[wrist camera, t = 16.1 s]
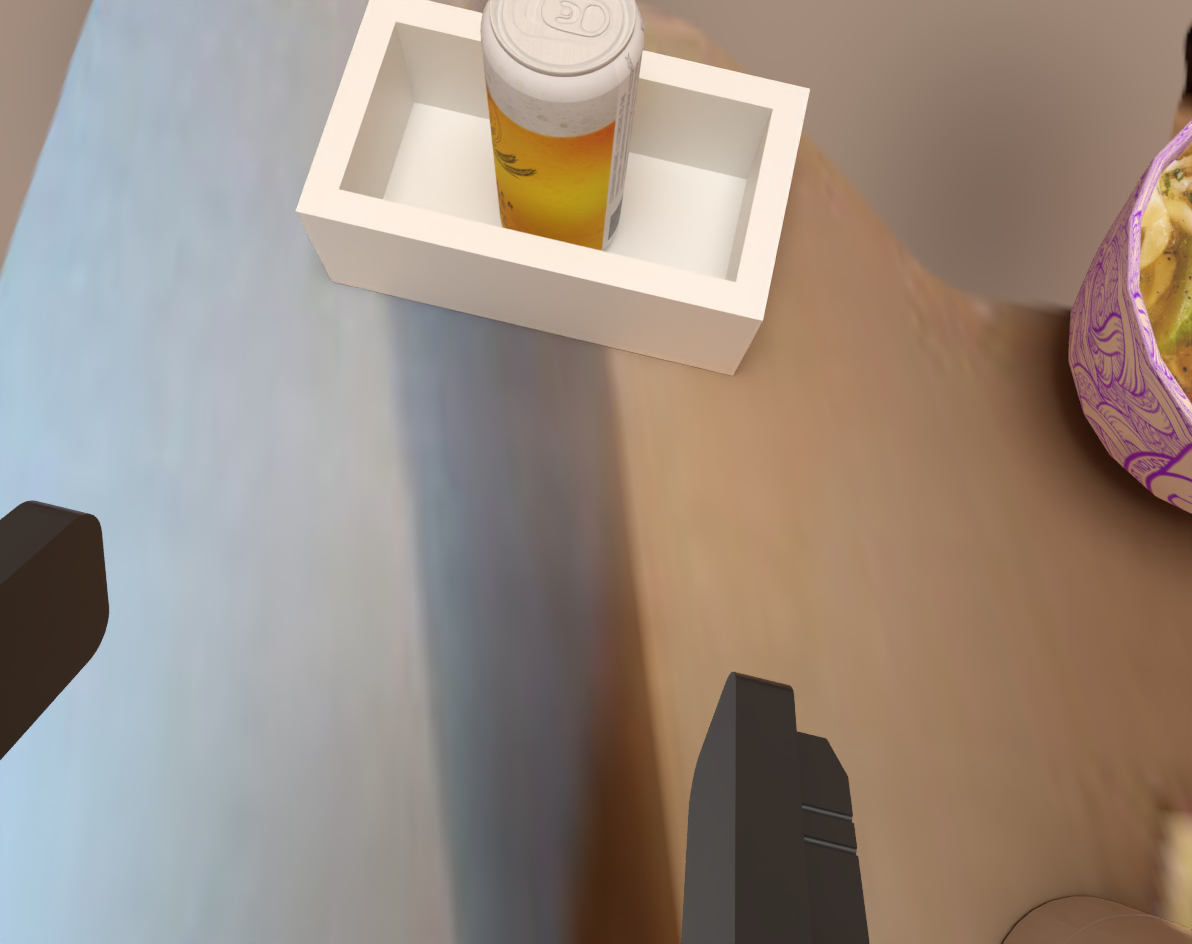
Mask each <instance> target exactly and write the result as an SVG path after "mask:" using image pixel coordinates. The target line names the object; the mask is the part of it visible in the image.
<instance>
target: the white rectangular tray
mask: <svg viewBox="0 0 1192 944" xmlns="http://www.w3.org/2000/svg"><path fill="white" fill-rule="evenodd" d="M482 15H483V13H479V12H475V11H471V10H466V9H462V8H458V7H453V6H449V5H445V4H440V3H436V2H432V1H427V0H369V3H368V6H367V9H366V12H365V14H364V17H363V20H362V23H361V26H360V29H359V32H358V34H357V37H356V40H355V43H354V46H353V49H352V52H351V54H350V57H349V60H348V63H347V66H346V69H345V72H344V74H343V77H342V80H341V83H340V86H339V89H338V92H337V94H336V97H335V100H334V103H333V106H332V109H331V112H330V114H329V117H328V120H327V123H326V126H325V129H324V131H323V134H322V137H321V140H320V143H319V146H318V149H317V151H316V154H315V157H314V160H313V163H312V166H311V169H310V171H309V174H308V177H307V180H306V183H305V186H304V189H303V191H302V194H301V197H300V200H299V203H298V206H297V209H296V213H297V215H298V217H299V219H300V221H301V223H302V225H303V227H304V228H305V230H306V232H307V234H308V236H309V238H310V240H311V242H312V244H313V246H314V248H315V250H316V252H317V254H318V255H319V257H320V259H321V261H322V263H323V265H324V267H325V269H326V271H327V273H328V275H329V277H330V279H331V281H332V282H336V283H340V284H345V285H349V286H353V287H357V288H362V289H366V290H370V291H374V292H379V293H383V294H387V295H391V296H396V297H400V298H404V299H408V300H413V301H417V302H421V303H425V304H430V305H434V306H438V307H442V308H447V309H451V310H455V311H459V312H464V313H468V314H472V315H476V316H481V317H485V318H489V319H493V320H498V321H502V322H506V323H510V324H515V325H519V326H523V327H527V328H532V329H536V330H540V331H544V332H549V333H553V334H557V335H561V336H566V337H570V338H574V339H578V340H583V341H587V342H591V343H595V344H600V345H604V346H608V347H612V348H617V349H621V350H625V351H629V352H634V353H638V354H642V355H646V356H650V357H655V358H659V359H663V360H667V361H672V362H676V363H680V364H684V365H689V366H693V367H697V368H701V369H706V370H710V371H714V372H718V373H723V374H727V375H731V376H733V375H734V373H735V371H736V369H737V368H738V366H739V364H740V362H741V360H742V358H743V357H744V355H745V353H746V351H747V349H748V347H749V346H750V344H751V342H752V340H753V338H754V336H755V334H756V333H757V331H758V329H759V327H760V325H761V323H762V322H763V318H764V313H765V308H766V303H767V298H768V293H769V288H770V283H771V278H772V274H773V269H774V264H775V259H776V254H777V249H778V244H779V239H780V234H781V229H782V224H783V219H784V214H785V209H786V205H787V200H788V195H789V190H790V185H791V180H792V175H793V170H794V165H795V160H796V155H797V150H798V145H799V140H800V136H801V131H802V126H803V121H804V116H805V111H806V106H807V101H808V96H809V91H810V89H808V88H804V87H800V86H795V85H791V84H786V83H782V82H778V81H774V80H769V79H765V78H761V77H756V76H752V75H748V74H743V73H739V72H735V71H730V70H726V69H722V68H717V67H713V66H709V65H704V64H700V63H696V62H691V61H687V60H683V59H678V58H674V57H670V56H665V55H661V54H657V53H652V52H648V51H644V50H643V52H642V60H641V67H640V74H639V82H638V89H637V96H636V104H635V111H634V118H633V126H632V133H631V141H630V148H629V155H628V163H627V170H626V177H625V185H624V192H623V199H622V207H621V214H620V221H619V225H618V228H617V231H616V233H615V236H614V237H613V239H612V241H611V242H610V243H609V244H608V246H607V247H606V248H605V249H604V250H603V251H600V250H596V249H592V248H587V247H583V246H579V245H575V244H570V243H566V242H562V241H557V240H553V239H549V238H545V237H540V236H536V235H532V234H528V233H523V232H519V231H515V230H510V229H506V228H503V227H502V224H501V219H500V211H499V202H498V192H497V183H496V174H495V165H494V155H493V146H492V137H491V128H490V118H489V109H488V100H487V91H486V81H485V72H484V63H483V54H482V44H481V32H480V27H481V19H482Z"/></svg>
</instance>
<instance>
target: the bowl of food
mask: <svg viewBox="0 0 1192 944" xmlns="http://www.w3.org/2000/svg"><path fill="white" fill-rule="evenodd" d="M1068 361H1069V364H1070V368H1071V371H1072V375H1073V378H1074V382H1075V385H1076V389H1077V393H1078V396H1079V400H1080V403H1081V407H1082V410H1083V413H1084V415H1085V417H1086V418H1087V420H1088V421H1089V423H1090V425H1091V426H1092V428H1093V429H1094V431H1095V432H1096V434H1097V436H1098V437H1099V439H1100V440H1101V442H1102V443H1103V445H1104V447H1105V448H1106V450H1107V451H1108V453H1109V454H1110V456H1111V457H1112V458H1113V459H1115V460H1116V461H1117V462H1118V463H1119V464H1120V465H1121V466H1122V467H1123V468H1125V469H1126V470H1127V471H1128V472H1129V473H1130V474H1131V475H1132V476H1134V477H1135V478H1136V479H1137V480H1138V481H1139V482H1140V483H1141V484H1142V485H1144V486H1145V487H1146V488H1147V489H1148V490H1149V491H1150V492H1151V493H1152V494H1154V495H1155V496H1156V497H1158V498H1160V499H1162V500H1164V501H1166V502H1168V503H1170V504H1172V505H1174V506H1177V507H1179V508H1181V509H1183V510H1185V511H1187V512H1189V513H1191V514H1192V120H1191V121H1190V122H1189V123H1188V124H1187V125H1186V126H1185V127H1184V128H1183V129H1182V130H1181V131H1180V132H1179V133H1178V134H1177V135H1176V136H1175V137H1174V138H1173V139H1172V140H1171V141H1170V142H1169V143H1168V144H1167V145H1166V146H1165V147H1164V148H1163V149H1162V150H1161V151H1160V152H1159V153H1158V154H1157V155H1156V156H1155V157H1154V158H1153V160H1152V161H1151V163H1150V165H1149V166H1148V168H1147V169H1146V171H1145V172H1144V174H1143V175H1142V177H1141V179H1140V180H1139V182H1138V184H1137V185H1136V187H1135V189H1134V190H1133V192H1132V194H1131V195H1130V197H1129V199H1128V200H1127V202H1126V204H1125V205H1124V207H1123V209H1122V210H1121V212H1120V214H1119V215H1118V217H1117V218H1116V220H1115V221H1114V223H1113V225H1112V226H1111V228H1110V229H1109V231H1108V233H1107V235H1106V237H1105V238H1104V240H1103V242H1102V243H1101V245H1100V247H1099V249H1098V251H1097V253H1096V255H1095V257H1094V259H1093V261H1092V264H1091V266H1090V268H1089V270H1088V272H1087V275H1086V277H1085V279H1084V282H1083V284H1082V286H1081V289H1080V291H1079V294H1078V296H1077V298H1076V301H1075V303H1074V305H1073V308H1072V310H1071V315H1070V337H1069V360H1068Z"/></svg>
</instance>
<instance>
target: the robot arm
mask: <svg viewBox="0 0 1192 944" xmlns="http://www.w3.org/2000/svg"><path fill="white" fill-rule="evenodd" d="M108 618H109V603H108V592H107V582H106V571H105V560H104V550H103V539H102V530H101V525H100V522H99V521H98V519H97V518H96V517H95V516H94V515H91V514H88V513H84V512H80V511H75V510H71V509H67V508H63V507H59V506H55V505H51V504H46V503H42V502H38V501H26V502H24V503H22V504H20V505H19V506H17V507H16V508H15V509H13V510H12V511H11V512H10V513H8V514H7V515H6V516H5V517H3V518H2V519H1V520H0V760H1V759H2V758H3V757H4V756H5V754H6V753H7V752H8V751H9V750H10V749H11V748H12V747H13V745H14V744H15V743H16V742H17V741H18V740H19V739H20V738H21V737H22V735H23V734H24V733H25V732H26V731H27V730H28V729H29V728H30V726H31V725H32V724H33V723H34V722H35V721H36V720H37V719H38V717H39V716H40V715H41V714H42V713H43V712H44V711H45V710H46V709H47V707H48V706H49V705H50V704H51V703H52V702H53V701H54V700H55V698H56V697H57V696H58V695H59V694H60V693H61V692H62V691H63V689H64V688H65V687H66V686H67V685H68V684H69V683H70V682H71V680H72V679H73V678H74V677H75V676H76V675H77V674H78V673H79V672H80V670H81V669H82V668H83V667H84V666H85V665H86V664H87V663H88V661H89V660H90V659H91V658H92V657H93V655H94V654H95V652H96V651H97V649H98V647H99V645H100V643H101V641H102V639H103V636H104V634H105V631H106V627H107V623H108ZM852 816H853V813H852V805H851V797H850V789H849V782H848V776H847V774H846V772H845V771H844V769H843V767H842V765H841V763H840V762H839V760H838V758H837V756H836V755H835V753H834V751H833V749H832V748H831V746H830V744H829V742H828V740H827V739H826V738H822V737H817V736H813V735H809V734H805V733H801V732H797V730H796V716H795V703H794V692H793V689H792V687H791V686H790V685H786V684H782V683H778V682H774V681H769V680H765V679H761V678H757V677H753V676H749V675H745V674H740V673H736V672H731V673H730V675H729V677H728V679H727V681H726V683H725V686H724V689H723V691H722V694H721V697H720V700H719V702H718V705H717V708H716V711H715V713H714V716H713V719H712V722H711V724H710V727H709V730H708V733H707V735H706V738H705V741H704V744H703V746H702V749H701V752H700V755H699V758H698V761H697V765H696V768H695V773H694V777H693V782H692V788H691V794H690V802H689V816H688V833H687V851H686V868H685V886H684V904H683V921H682V939H681V944H869V936H868V929H867V921H866V913H865V905H864V898H863V890H862V882H861V874H860V867H859V859H858V856H856V849H857V843H856V836H855V828H854V823H852ZM1003 944H1192V929H1190V928H1187V927H1184V926H1181V925H1178V924H1175V923H1173V922H1171V921H1168V920H1165V919H1162V918H1159V917H1156V916H1153V915H1151V914H1148V913H1145V912H1142V911H1139V910H1136V909H1133V908H1130V907H1127V906H1125V905H1122V904H1119V903H1116V902H1112V901H1109V900H1105V899H1101V898H1097V897H1084V896H1071V897H1067V898H1062V899H1057V900H1053V901H1050V902H1048V903H1046V904H1044V905H1042V906H1040V907H1038V908H1036V909H1034V910H1033V911H1031V912H1030V913H1029V914H1028V915H1027V916H1025V917H1024V918H1023V919H1022V920H1021V921H1020V922H1018V923H1017V924H1016V926H1015V927H1014V929H1013V930H1012V931H1011V933H1010V934H1009V935H1008V937H1007V938H1006V939H1005V941H1004V943H1003Z"/></svg>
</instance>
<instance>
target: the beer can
mask: <svg viewBox="0 0 1192 944" xmlns="http://www.w3.org/2000/svg"><path fill="white" fill-rule="evenodd" d="M480 32H481V44H482V54H483V63H484V72H485V81H486V91H487V100H488V109H489V118H490V128H491V137H492V146H493V155H494V165H495V174H496V183H497V192H498V202H499V211H500V219H501V224H502V227H503V228H506V229H510V230H515V231H519V232H523V233H528V234H532V235H536V236H540V237H545V238H549V239H553V240H557V241H562V242H566V243H570V244H575V245H579V246H583V247H587V248H592V249H596V250H600V251H603V250H604V249H605V248H606V247H607V246H608V244H609V243H610V242H611V241H612V239H613V237H614V236H615V233H616V231H617V228H618V225H619V221H620V214H621V207H622V199H623V192H624V185H625V177H626V170H627V163H628V155H629V148H630V141H631V133H632V126H633V118H634V111H635V104H636V96H637V89H638V82H639V74H640V67H641V60H642V52H643V45H644V24H643V19H642V16H641V13H640V10H639V8H638V6H637V4H636V2H635V0H488V2H487V4H486V6H485V9H484V11H483V15H482V19H481V27H480Z"/></svg>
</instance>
